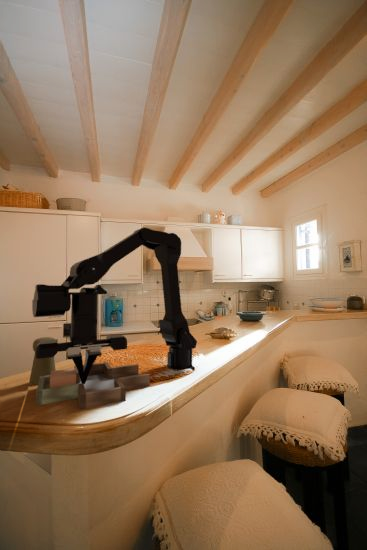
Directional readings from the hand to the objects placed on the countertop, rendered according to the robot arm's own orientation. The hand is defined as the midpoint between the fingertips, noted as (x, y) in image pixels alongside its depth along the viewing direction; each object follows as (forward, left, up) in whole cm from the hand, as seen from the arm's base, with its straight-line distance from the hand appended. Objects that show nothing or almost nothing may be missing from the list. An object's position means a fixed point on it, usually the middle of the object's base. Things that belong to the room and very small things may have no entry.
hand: (83, 383), depth 56 cm
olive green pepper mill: (+8, -10, -2) cm, 13 cm away
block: (+4, 0, -1) cm, 4 cm away
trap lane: (-3, 0, -2) cm, 4 cm away
